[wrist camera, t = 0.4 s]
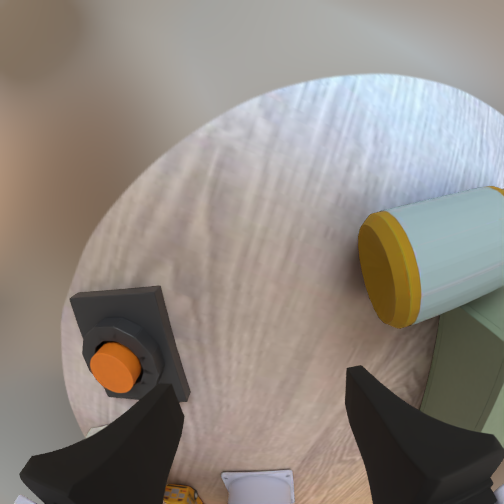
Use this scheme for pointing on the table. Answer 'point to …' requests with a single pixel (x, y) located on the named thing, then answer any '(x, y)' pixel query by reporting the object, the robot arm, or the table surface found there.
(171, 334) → the panel
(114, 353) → the button
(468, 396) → the cabinet
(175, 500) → the toy bus
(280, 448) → the table surface
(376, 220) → the bottle
